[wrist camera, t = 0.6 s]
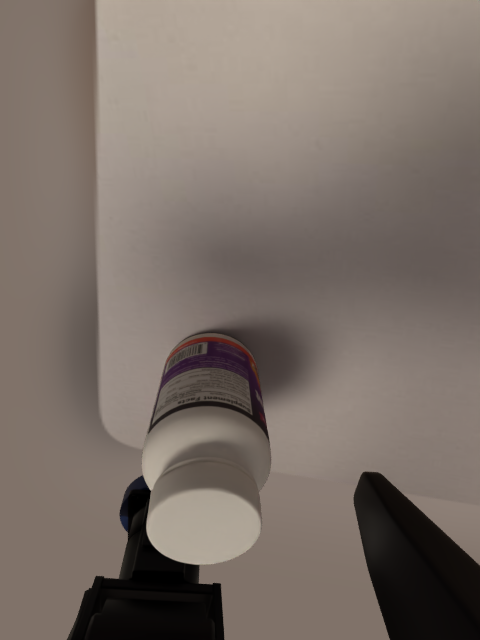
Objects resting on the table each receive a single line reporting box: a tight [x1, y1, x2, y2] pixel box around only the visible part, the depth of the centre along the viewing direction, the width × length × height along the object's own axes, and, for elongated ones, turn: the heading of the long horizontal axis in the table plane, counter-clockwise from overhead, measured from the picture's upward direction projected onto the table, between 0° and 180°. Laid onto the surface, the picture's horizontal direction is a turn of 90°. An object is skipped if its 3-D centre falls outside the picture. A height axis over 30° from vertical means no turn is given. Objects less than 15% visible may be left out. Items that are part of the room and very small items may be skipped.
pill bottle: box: [142, 333, 271, 565], centre depth 17 cm, size 5×5×10 cm
